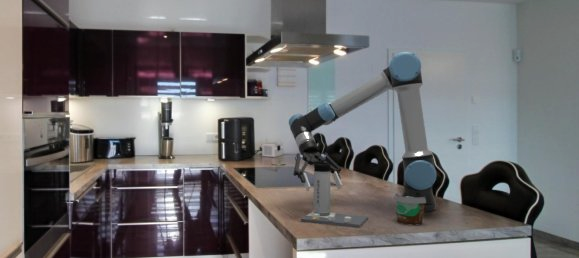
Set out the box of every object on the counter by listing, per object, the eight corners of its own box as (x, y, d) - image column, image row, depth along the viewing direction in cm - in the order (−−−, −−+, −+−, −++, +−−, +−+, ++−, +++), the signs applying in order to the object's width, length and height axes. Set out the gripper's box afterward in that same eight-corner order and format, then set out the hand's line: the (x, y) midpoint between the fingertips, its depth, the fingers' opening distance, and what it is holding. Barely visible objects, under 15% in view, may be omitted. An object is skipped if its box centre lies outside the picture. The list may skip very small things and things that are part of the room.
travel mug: (325, 211, 170) (325, 161, 169) (332, 215, 164) (333, 162, 163) (310, 213, 168) (311, 161, 167) (317, 216, 162) (318, 163, 161)
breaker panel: (368, 219, 164) (368, 212, 164) (359, 227, 151) (359, 220, 151) (313, 213, 172) (313, 207, 172) (300, 221, 159) (300, 214, 159)
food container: (387, 221, 160) (387, 194, 160) (396, 218, 165) (396, 192, 165) (417, 227, 152) (417, 199, 151) (425, 224, 156) (426, 197, 156)
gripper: (330, 151, 184) (349, 191, 171) (276, 152, 174) (291, 195, 161) (336, 139, 179) (356, 180, 166) (281, 139, 169) (298, 183, 156)
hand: (324, 188), depth 163 cm, fingers open, 13 cm apart
